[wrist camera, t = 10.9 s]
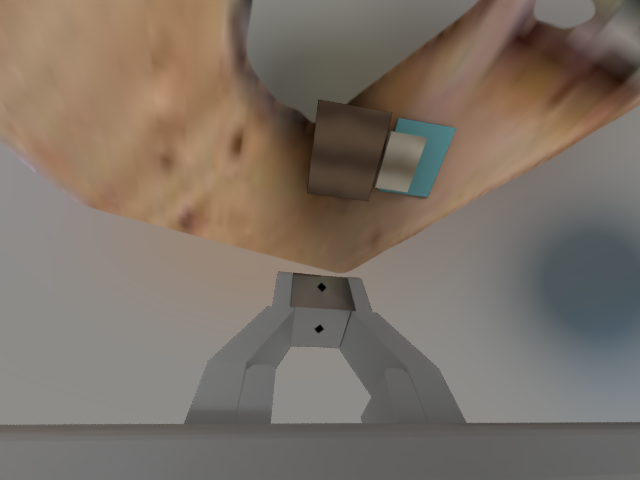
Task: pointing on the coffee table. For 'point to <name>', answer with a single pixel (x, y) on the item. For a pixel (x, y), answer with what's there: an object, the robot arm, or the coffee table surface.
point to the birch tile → (398, 161)
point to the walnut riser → (346, 150)
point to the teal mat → (425, 153)
